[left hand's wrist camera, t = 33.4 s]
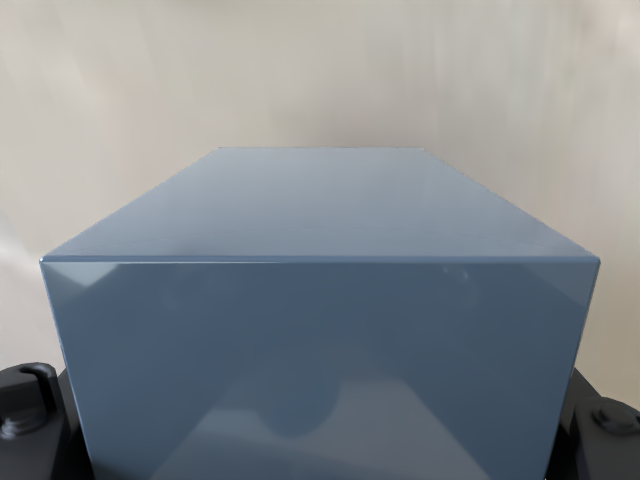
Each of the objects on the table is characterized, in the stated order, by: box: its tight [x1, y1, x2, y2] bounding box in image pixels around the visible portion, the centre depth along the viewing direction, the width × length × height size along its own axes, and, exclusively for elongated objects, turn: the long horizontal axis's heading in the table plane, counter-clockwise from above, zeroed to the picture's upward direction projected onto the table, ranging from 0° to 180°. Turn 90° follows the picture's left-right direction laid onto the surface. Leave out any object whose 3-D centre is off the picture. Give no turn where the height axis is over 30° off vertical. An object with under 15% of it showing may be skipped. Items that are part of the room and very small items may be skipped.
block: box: [39, 147, 601, 480], centre depth 12 cm, size 9×8×10 cm
